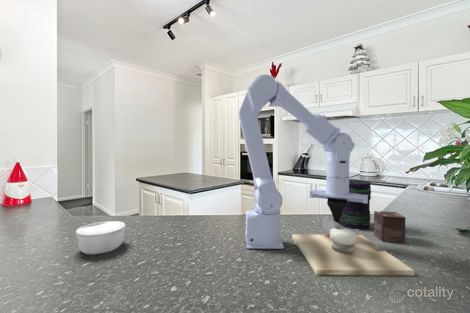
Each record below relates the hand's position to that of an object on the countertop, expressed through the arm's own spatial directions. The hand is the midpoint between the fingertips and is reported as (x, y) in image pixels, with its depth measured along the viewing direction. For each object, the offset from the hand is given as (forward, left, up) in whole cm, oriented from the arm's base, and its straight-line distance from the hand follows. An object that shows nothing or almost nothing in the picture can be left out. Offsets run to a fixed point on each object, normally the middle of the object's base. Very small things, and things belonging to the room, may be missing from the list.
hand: (337, 226), depth 64 cm
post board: (-2, -7, -5) cm, 8 cm away
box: (+16, +3, -5) cm, 17 cm away
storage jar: (+12, +15, -5) cm, 20 cm away
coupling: (-2, -4, -1) cm, 4 cm away
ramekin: (-63, -4, -5) cm, 63 cm away
